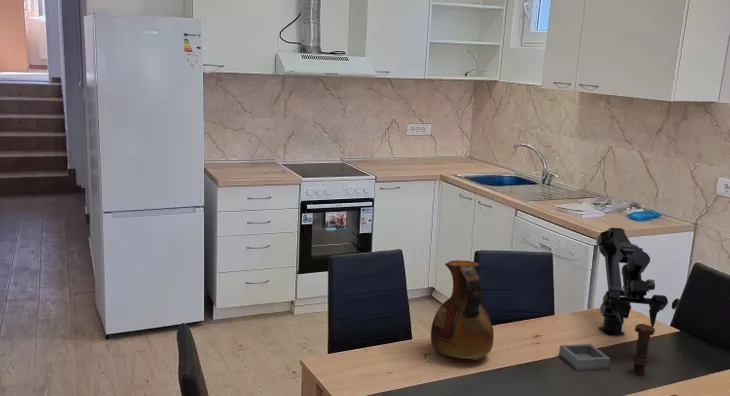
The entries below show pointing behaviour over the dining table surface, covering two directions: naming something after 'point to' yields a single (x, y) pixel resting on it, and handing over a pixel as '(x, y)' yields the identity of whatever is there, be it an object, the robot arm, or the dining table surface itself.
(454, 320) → the ceramic pitcher
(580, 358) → the socket block
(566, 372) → the dining table surface
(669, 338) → the dining table surface
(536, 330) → the dining table surface
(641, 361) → the bolt
